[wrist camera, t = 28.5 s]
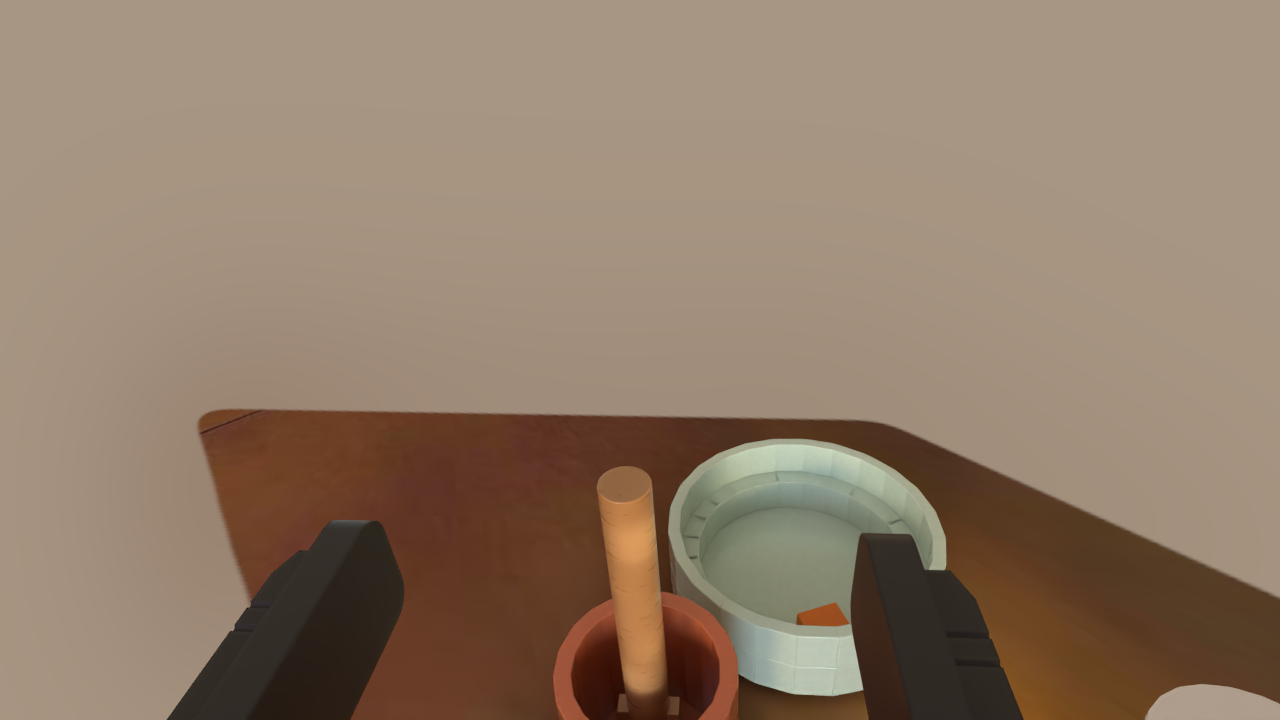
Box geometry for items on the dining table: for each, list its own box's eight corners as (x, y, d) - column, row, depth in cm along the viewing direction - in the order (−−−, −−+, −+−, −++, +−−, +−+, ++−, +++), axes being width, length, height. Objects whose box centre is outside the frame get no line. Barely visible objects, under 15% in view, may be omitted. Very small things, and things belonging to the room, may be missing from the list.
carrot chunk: (834, 615, 44) (835, 601, 43) (857, 651, 42) (859, 637, 41) (795, 627, 43) (796, 613, 43) (816, 664, 41) (818, 650, 40)
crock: (735, 693, 40) (736, 593, 36) (739, 865, 33) (740, 767, 28) (590, 685, 42) (572, 588, 37) (561, 850, 34) (534, 754, 29)
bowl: (897, 497, 54) (907, 438, 50) (967, 709, 39) (987, 644, 36) (678, 494, 56) (675, 437, 53) (664, 693, 41) (659, 631, 38)
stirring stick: (684, 738, 38) (665, 465, 27) (682, 779, 36) (662, 503, 25) (628, 735, 38) (588, 465, 28) (623, 775, 36) (579, 502, 26)
